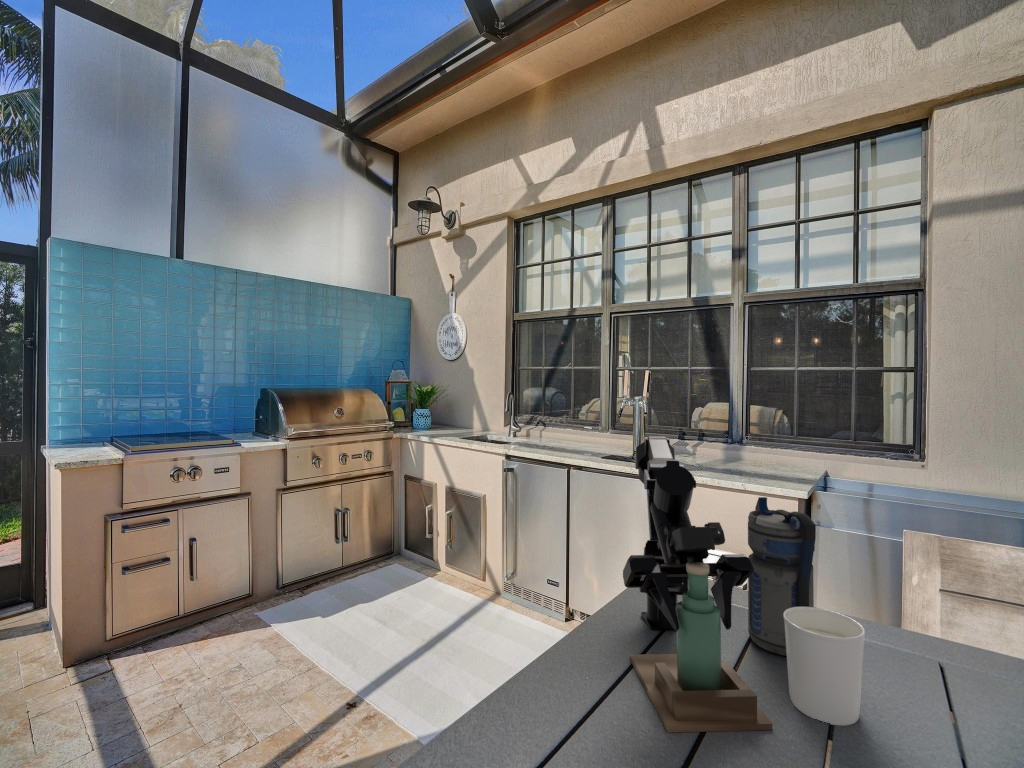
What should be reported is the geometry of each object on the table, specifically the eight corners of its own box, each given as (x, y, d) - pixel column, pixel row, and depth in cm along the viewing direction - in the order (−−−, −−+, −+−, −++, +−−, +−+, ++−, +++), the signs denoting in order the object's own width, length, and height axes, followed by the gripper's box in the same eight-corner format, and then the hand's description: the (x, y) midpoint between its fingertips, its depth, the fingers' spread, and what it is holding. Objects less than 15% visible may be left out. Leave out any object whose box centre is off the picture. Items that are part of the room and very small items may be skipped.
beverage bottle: (784, 671, 78) (783, 513, 79) (734, 631, 91) (733, 496, 92) (840, 666, 80) (839, 511, 80) (783, 627, 93) (782, 495, 93)
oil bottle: (669, 690, 71) (668, 563, 72) (691, 677, 75) (690, 556, 76) (707, 710, 67) (706, 574, 68) (729, 694, 70) (727, 566, 71)
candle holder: (826, 736, 63) (825, 642, 64) (768, 691, 73) (767, 610, 73) (884, 723, 66) (883, 633, 66) (820, 681, 75) (819, 603, 76)
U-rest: (629, 659, 81) (629, 636, 81) (712, 658, 82) (712, 635, 82) (667, 732, 64) (667, 702, 64) (772, 729, 64) (772, 700, 64)
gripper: (627, 502, 75) (651, 607, 63) (747, 502, 75) (791, 605, 64) (614, 539, 82) (633, 638, 71) (723, 538, 83) (759, 635, 72)
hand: (703, 629), depth 69 cm, fingers open, 7 cm apart
